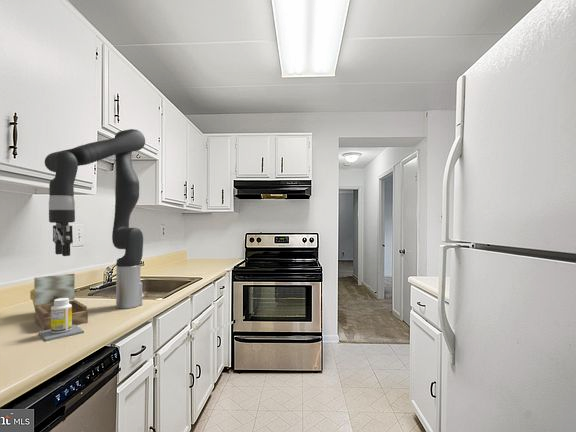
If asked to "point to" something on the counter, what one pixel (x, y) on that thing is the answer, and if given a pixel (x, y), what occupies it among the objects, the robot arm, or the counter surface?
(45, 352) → the counter surface
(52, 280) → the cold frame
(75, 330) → the mat
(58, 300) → the supplement bottle
